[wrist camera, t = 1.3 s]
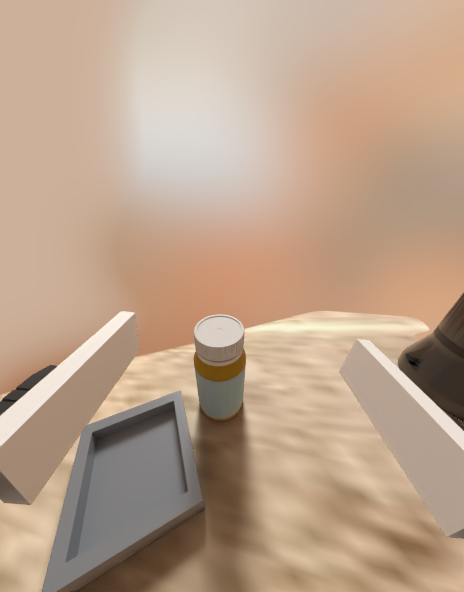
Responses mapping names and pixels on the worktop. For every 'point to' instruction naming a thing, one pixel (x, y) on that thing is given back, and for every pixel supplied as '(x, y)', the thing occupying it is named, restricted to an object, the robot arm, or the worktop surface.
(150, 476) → the tray
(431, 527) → the worktop surface
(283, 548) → the worktop surface
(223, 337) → the bottle
